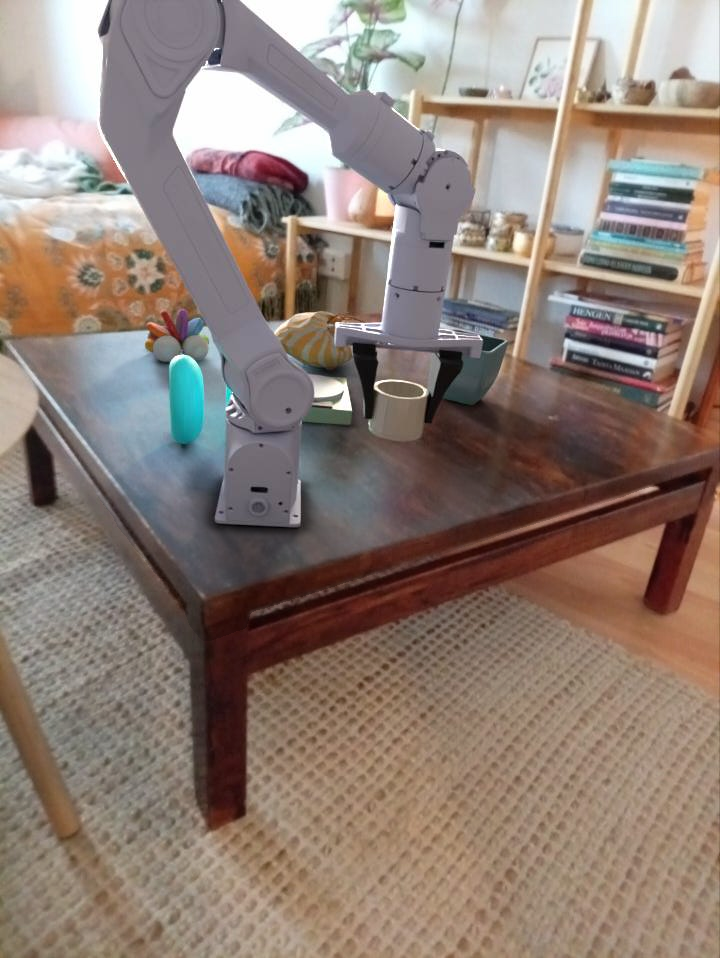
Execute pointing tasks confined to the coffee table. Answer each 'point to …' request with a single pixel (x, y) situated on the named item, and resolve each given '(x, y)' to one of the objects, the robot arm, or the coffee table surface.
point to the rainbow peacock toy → (177, 337)
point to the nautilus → (314, 339)
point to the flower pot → (477, 371)
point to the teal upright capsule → (187, 399)
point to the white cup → (398, 410)
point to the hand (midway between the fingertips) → (397, 417)
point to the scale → (330, 401)
